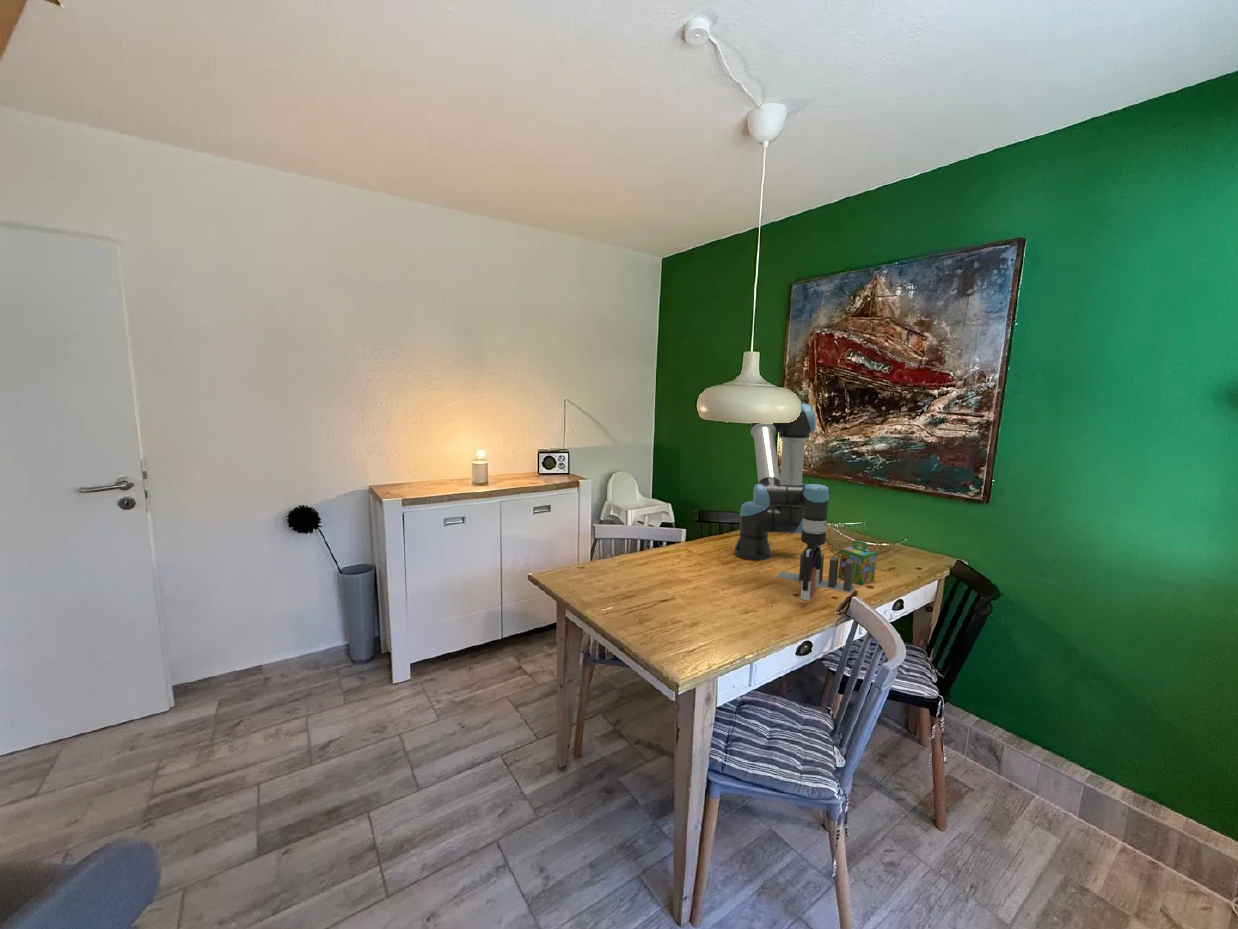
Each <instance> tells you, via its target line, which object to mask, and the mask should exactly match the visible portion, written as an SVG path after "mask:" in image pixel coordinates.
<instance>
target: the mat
mask: <svg viewBox="0 0 1238 929" xmlns="http://www.w3.org/2000/svg"><path fill="white" fill-rule="evenodd" d="M775 577H776V578H779V579H782V580H788V581H792V582H796V583H797V582H798V583H801V584H802V581H799V573H796V572H791V571H786V570H781V571H780V572H779V573H778V574H777V575H776V576H775ZM828 581H829V579H824V578H822V581H821V583H820V584H819V586H818V588H820V587H821V588H824V589H829V590H834V591H839V592H842V593H846V594H847V593H848V594H853V593H854V591H855V588H856V585H853V584H852V588H851V590H850V591H846V590H843V588H844V582H838V581H837V584H836V586H835V587H834V588H832V587H828Z"/></svg>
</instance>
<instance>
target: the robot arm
mask: <svg viewBox="0 0 1238 929" xmlns="http://www.w3.org/2000/svg"><path fill="white" fill-rule="evenodd" d="M800 404H801V405H802V410H801V413H800V416H799V417H798V418H797V420H795V421H793V422H790V423H773V424H762V423H751V422H750V427H749V428H750V434H751V437H753V441H754V442H753V443H754V450H755V460H756V461H755V462H756V472H757V484H755V485H754V487H753V500H749V501H746V502H744V503H743V504H742V505H741V506H740V513H739V516H740V520H739V521H740V522H739V537H738V539H737V542H736V545H735V547H734V555H735V556H736V557H737V558H741V559H744V560H748V561H756V562H757V561H766V560H768V559H770V558H771V557H772V548H771V545H770V543H769V533H775V534H776V533H778V534H793V535H794V534H800V535H801V536H800V537H801V538H800V541H801V542H802V543H804V544H806V547H805V549H804V550H803V551H804V557H803V564H802V570H801V577H799V580H802V583H801V584H800V585H801V586H800V587H801V588H800V599H801V600H804V601H805V600H806V601H810V600H811V599H810V588H811V581H810V578H811V573H812V568H813V567H816V577H815V589H818V588H819V571H820V570H818V569H821V570H822V566H821V554H822V550H821V549H822V545H825V544H826V537H827V534H826V533H827V532H826V531H827V527H828V526H829V523H828V522H827V520H828V509H829V499H830V495H829V487H828V486H827V485H823V484H821V483H820V484H819V483H818V484H817V483H810V484H809V483H803V473H804V472H803V470H804V458H805V446H806V444H805V443H806V441H807V440H808V439H810V434H813V433H814V432H815V430H816V416H815V411H814V409H813V406H811V405H810V404H809V403H800ZM777 433H778V437H779V438H780V439H781V442H782V447H781V456H780V457H781V458H780V460H781V461H780V468H779V464H778V457H777V448H776V441H775V435H776V434H777ZM779 470H780V471H779ZM806 577H807V578H806Z"/></svg>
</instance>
